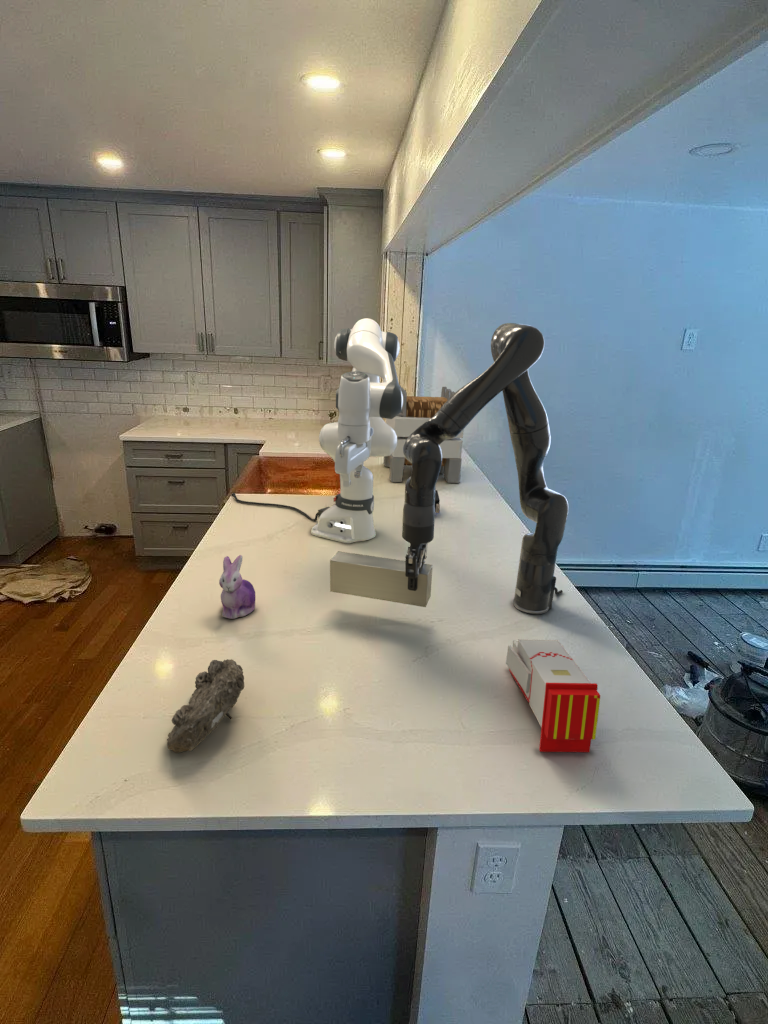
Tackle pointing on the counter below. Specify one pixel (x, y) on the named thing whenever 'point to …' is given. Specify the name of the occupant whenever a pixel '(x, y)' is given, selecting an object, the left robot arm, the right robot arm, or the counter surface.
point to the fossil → (206, 705)
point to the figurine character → (437, 502)
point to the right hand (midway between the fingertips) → (415, 583)
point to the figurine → (235, 590)
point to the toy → (556, 694)
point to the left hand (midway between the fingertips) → (352, 481)
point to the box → (378, 578)
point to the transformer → (409, 421)
